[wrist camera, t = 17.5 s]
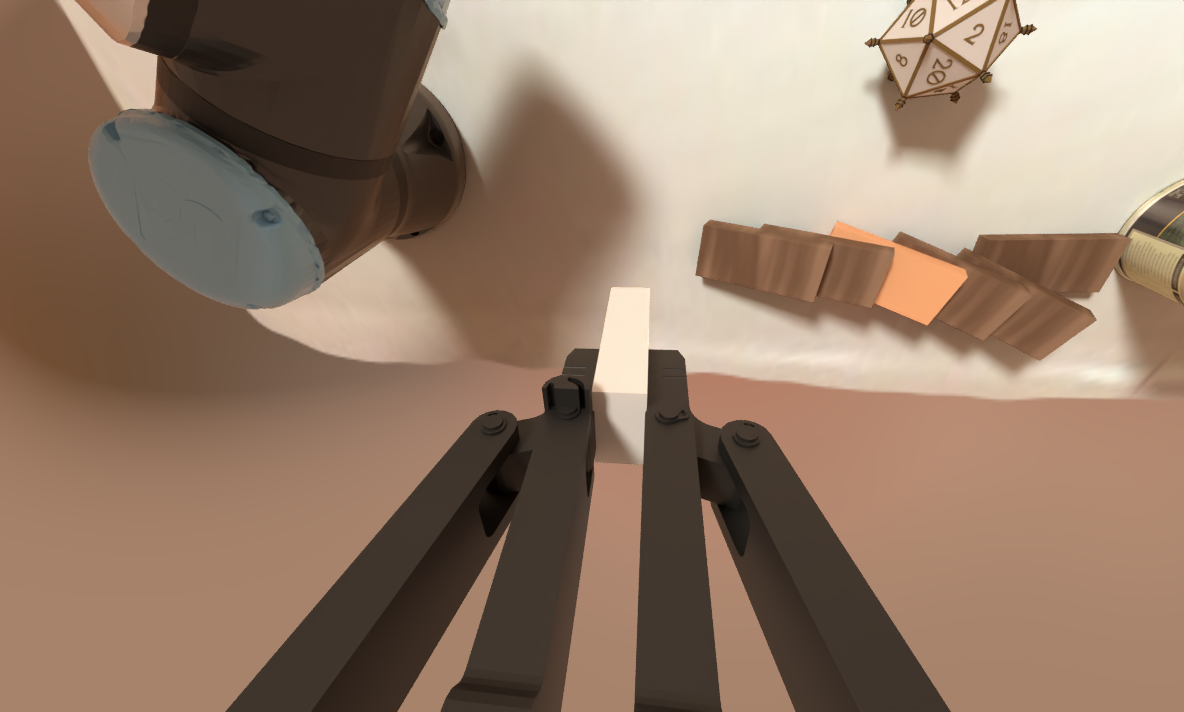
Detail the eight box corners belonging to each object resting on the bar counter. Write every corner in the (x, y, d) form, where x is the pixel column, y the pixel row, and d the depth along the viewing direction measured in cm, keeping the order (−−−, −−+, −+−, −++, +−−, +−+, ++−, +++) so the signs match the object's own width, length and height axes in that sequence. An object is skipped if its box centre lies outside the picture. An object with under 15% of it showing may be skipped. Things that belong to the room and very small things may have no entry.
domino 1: (695, 275, 45) (813, 302, 41) (703, 225, 42) (831, 249, 38) (701, 268, 46) (816, 294, 42) (710, 219, 44) (833, 242, 39)
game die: (914, 54, 38) (986, 136, 34) (824, 63, 36) (887, 149, 32) (1010, -87, 30) (1120, -3, 26) (899, -83, 28) (996, 7, 24)
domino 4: (863, 284, 43) (983, 340, 41) (899, 238, 40) (1032, 296, 37) (865, 276, 45) (980, 331, 42) (900, 231, 41) (1027, 287, 39)
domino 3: (807, 275, 44) (927, 325, 40) (835, 226, 40) (967, 277, 37) (810, 268, 45) (926, 316, 42) (837, 221, 42) (965, 269, 39)
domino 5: (966, 291, 43) (1098, 292, 41) (989, 240, 40) (1131, 238, 39) (955, 282, 45) (1082, 283, 43) (976, 232, 42) (1112, 231, 40)
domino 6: (922, 298, 43) (1039, 360, 41) (966, 255, 40) (1096, 320, 38) (922, 290, 45) (1035, 349, 42) (964, 247, 41) (1090, 310, 39)
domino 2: (747, 279, 45) (871, 308, 40) (759, 229, 42) (894, 254, 37) (751, 272, 46) (872, 299, 42) (764, 223, 43) (894, 247, 39)
